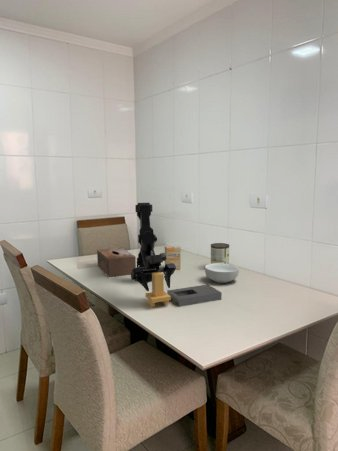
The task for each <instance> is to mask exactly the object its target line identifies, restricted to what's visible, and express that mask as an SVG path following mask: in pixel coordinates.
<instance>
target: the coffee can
mask: <svg viewBox="0 0 338 451" xmlns="http://www.w3.org/2000/svg"><path fill="white" fill-rule="evenodd" d="M214 263H224V264H230V244H228V243H223V242H215V243H214V242H213V243H211V244H210V264H214Z"/></svg>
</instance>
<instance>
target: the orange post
mask: <svg viewBox="0 0 338 451" xmlns="http://www.w3.org/2000/svg"><path fill="white" fill-rule="evenodd" d="M145 298H146V299H147V305H148V306H149V307H151V308H154V307H156V303H160V302H161V303H162V304H163V305H165V306H167V305H169V301H172V300H171V296H170V295H168V294H167V291H165V290H164V273H163V272H155V273H152V281H151V292H150V291H149V292H145Z"/></svg>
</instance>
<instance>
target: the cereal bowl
mask: <svg viewBox="0 0 338 451" xmlns="http://www.w3.org/2000/svg"><path fill="white" fill-rule="evenodd" d="M239 269H240V268H239V266H238V265H234V264H231V263H229V264H224V263H214V264H211V263H209V264H207V265H205V267H204V273H205V276H207V278H209V279H210V280H212V281H213V282H216V283H218V284H219V283H220V284H224V283H225V284H227V283H229V282H231V281H233V280H235V279H237V277H238V276H239Z"/></svg>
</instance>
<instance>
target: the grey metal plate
mask: <svg viewBox="0 0 338 451" xmlns="http://www.w3.org/2000/svg"><path fill="white" fill-rule="evenodd" d="M166 293H167V294H168V295H170V296H171V300H170V301H171V302H172V303H174V304H175V305H176V306H178V307H184V306H190V305H195V304H203V303H207V302H212V301H214V302H215V301H219V300H222V292H221V291H219V290H218V289H216V288H215V287H213V286H211V285H209V284H201V285H194V286H188V287H182V288H175V289H169V290H167V291H166Z"/></svg>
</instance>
